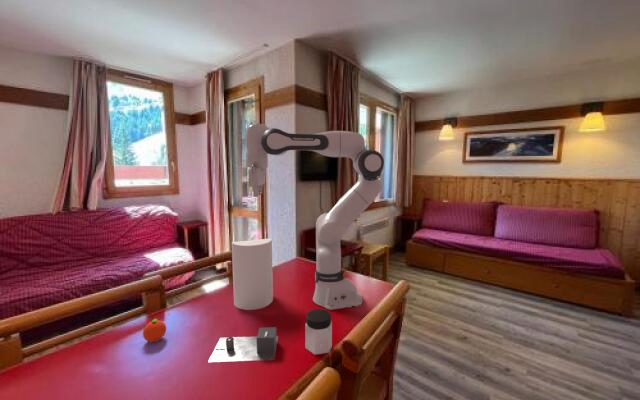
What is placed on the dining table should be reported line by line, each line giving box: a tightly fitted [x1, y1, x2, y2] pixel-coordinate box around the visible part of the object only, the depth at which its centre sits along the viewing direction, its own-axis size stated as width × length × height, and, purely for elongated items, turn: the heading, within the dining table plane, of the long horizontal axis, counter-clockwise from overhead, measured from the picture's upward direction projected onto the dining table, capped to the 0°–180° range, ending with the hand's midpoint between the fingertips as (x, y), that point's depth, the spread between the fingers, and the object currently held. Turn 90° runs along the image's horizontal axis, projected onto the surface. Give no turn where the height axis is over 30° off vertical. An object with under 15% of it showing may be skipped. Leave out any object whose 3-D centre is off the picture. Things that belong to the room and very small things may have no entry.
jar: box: [304, 308, 333, 356], centre depth 90 cm, size 9×8×12 cm
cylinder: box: [231, 237, 274, 311], centre depth 122 cm, size 17×17×28 cm
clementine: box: [142, 318, 167, 343], centre depth 95 cm, size 8×7×7 cm
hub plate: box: [207, 335, 279, 363], centre depth 89 cm, size 20×12×4 cm, turn 93°
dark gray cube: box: [256, 326, 278, 354], centre depth 89 cm, size 6×6×6 cm
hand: (258, 195), depth 117 cm, fingers open, 8 cm apart
